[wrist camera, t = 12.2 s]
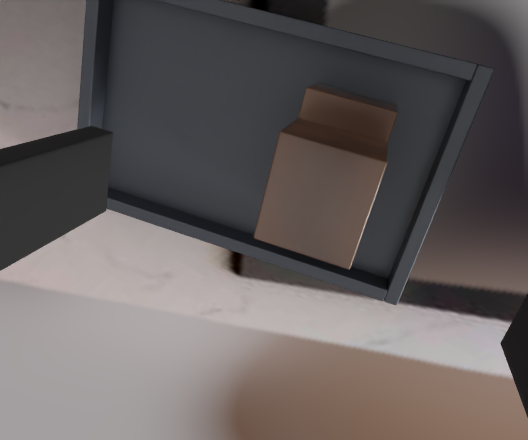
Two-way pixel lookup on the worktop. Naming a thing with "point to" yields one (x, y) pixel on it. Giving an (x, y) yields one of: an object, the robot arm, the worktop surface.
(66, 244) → the worktop surface
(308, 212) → the brown t-shaped block
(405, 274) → the tray
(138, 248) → the worktop surface
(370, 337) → the worktop surface
